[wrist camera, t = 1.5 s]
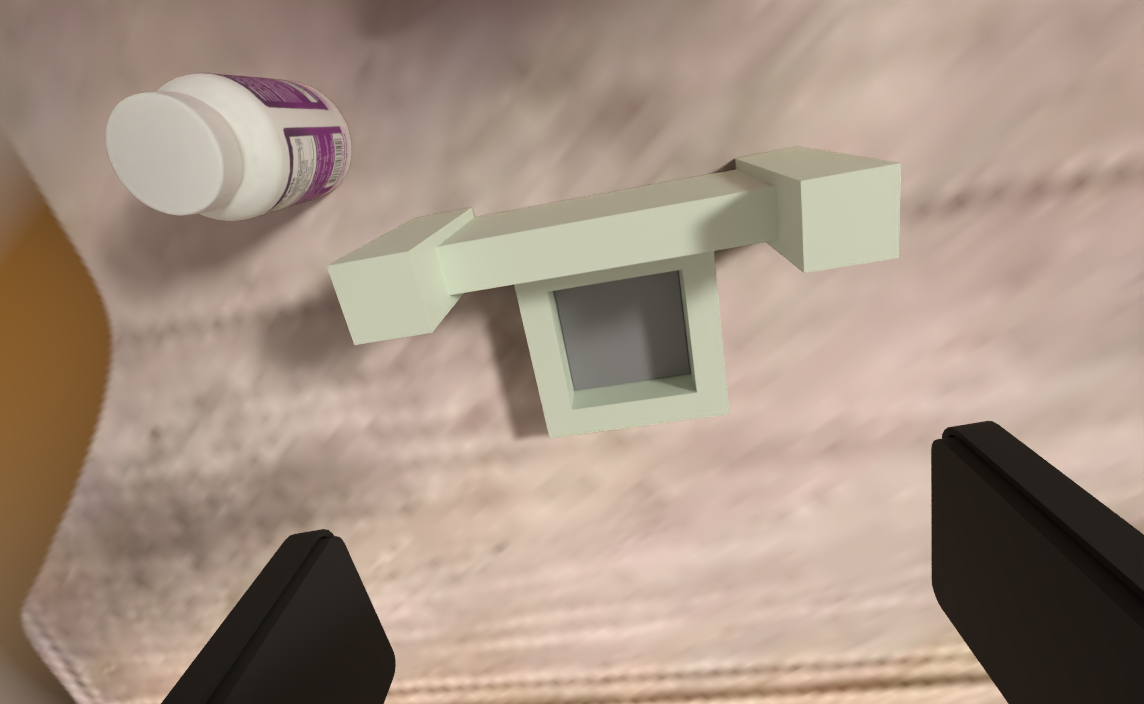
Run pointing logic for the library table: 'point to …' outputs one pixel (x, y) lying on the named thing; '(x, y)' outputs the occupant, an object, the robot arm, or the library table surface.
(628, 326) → the grey holder stand
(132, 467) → the library table surface
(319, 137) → the pill bottle
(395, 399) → the library table surface
